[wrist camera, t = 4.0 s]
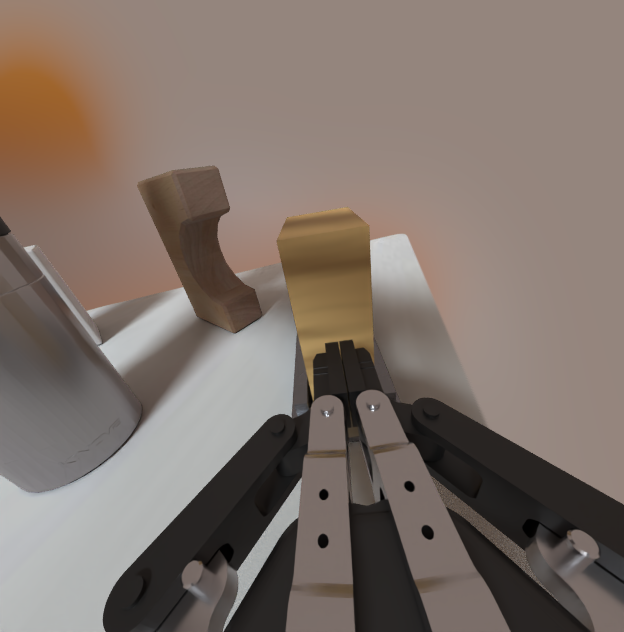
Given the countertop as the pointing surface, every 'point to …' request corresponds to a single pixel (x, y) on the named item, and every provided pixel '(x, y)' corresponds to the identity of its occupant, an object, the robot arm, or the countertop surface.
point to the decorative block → (199, 244)
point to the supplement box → (64, 291)
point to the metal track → (304, 396)
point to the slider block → (328, 280)
